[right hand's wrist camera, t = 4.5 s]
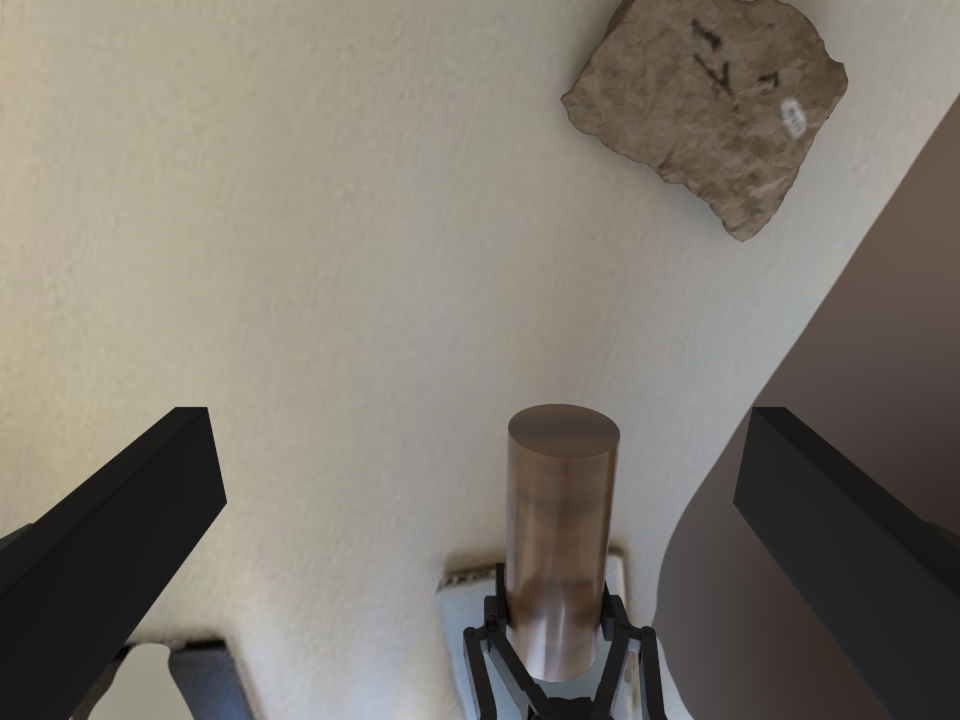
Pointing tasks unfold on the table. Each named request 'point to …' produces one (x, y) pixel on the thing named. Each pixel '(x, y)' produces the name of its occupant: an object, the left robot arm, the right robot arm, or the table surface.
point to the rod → (558, 535)
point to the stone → (711, 98)
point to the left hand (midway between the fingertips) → (547, 574)
